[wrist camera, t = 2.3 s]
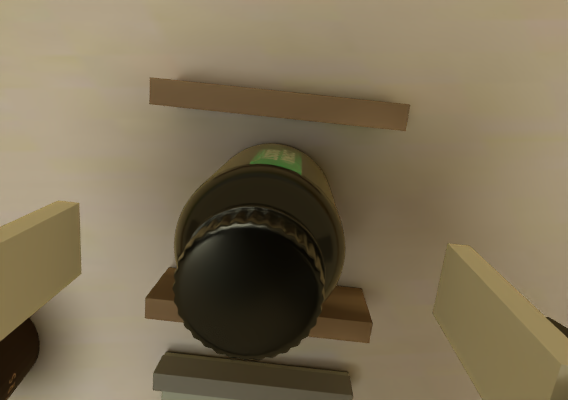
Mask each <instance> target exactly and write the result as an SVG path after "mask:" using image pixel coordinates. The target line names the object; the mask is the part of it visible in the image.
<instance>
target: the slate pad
mask: <svg viewBox="0 0 568 400" xmlns="http://www.w3.org/2000/svg"><path fill="white" fill-rule="evenodd" d="M153 390H155V391H162V398H161V400H352V399H353V392H352V387H351V381H350V376H349V375H348V372H340V371H331V370H322V369H313V368H304V367H295V366H286V365H277V364H268V363H259V362H250V361H241V360H232V359H223V358H214V357H206V356H197V355H188V354H179V353H170V352H166V353H165V355H163V356H162V358H161V360H160V361H159V363H158V365H157V367H156V369H155V371H154V373H153Z"/></svg>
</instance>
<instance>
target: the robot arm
mask: <svg viewBox="0 0 568 400" xmlns="http://www.w3.org/2000/svg"><path fill="white" fill-rule="evenodd" d="M80 274H81V246H80V213H79V203H75V202H66V201H56V202H54V203H52V204H50V205H47V206H45V207H43V208H41V209H39V210H36V211H34V212H32V213H30V214H28V215H25V216H23V217H21V218H19V219H17V220H15V221H12V222H10V223H8V224H6V225H4V226H1V227H0V341H1V340H2V339H4V338H5V337H6V336H7V335H8V334H10V333H11V332H12V331H13V330H14V329H16V328H17V327H18V326H19V325H20V324H22V323H23V322H24V321H25V320H26V319H28V318H29V317H30V316H31V315H32V314H34V313H35V312H36V311H37V310H38V309H40V308H41V307H42V306H43V305H44V304H46V303H47V302H48V301H49V300H50V299H52V298H53V297H54V296H55V295H56V294H58V293H59V292H60V291H61V290H62V289H64V288H65V287H66V286H67V285H68V284H70V283H71V282H72V281H73V280H74V279H76V278H77V277H78V276H79V275H80ZM433 315H434V317H435V318H436V320H437V322H438V323H439V325H440V327H441V329H442V330H443V332H444V334H445V336H446V337H447V339H448V341H449V342H450V344H451V346H452V348H453V349H454V351H455V353H456V355H457V356H458V358H459V360H460V361H461V363H462V365H463V367H464V368H465V370H466V372H467V374H468V375H469V377H470V379H471V381H472V382H473V384H474V386H475V387H476V389H477V391H478V393H479V394H480V396H481V398H482V400H568V328H566V327H564V326H563V325H561V324H559V323H558V322H556V321H554V320H553V319H551V318H549V317H545V316H544V315H543V314H542V313H541V312H539V311H538V310H537V309H536V308H535V307H534V306H533V305H532V304H531V303H530V302H529V301H528V300H527V299H526V298H525V297H524V296H522V295H521V294H520V293H519V292H518V291H517V290H516V289H515V288H514V287H513V286H512V285H511V284H510V283H509V282H508V281H506V280H505V279H504V278H503V277H502V276H501V275H500V274H499V273H498V272H497V271H496V270H495V269H494V268H493V267H492V266H491V265H489V264H488V263H487V262H486V261H485V260H484V259H483V258H482V257H481V256H480V255H479V254H478V253H477V252H476V251H475V250H474V249H472V248H471V247H470V246H467V245H458V244H449V243H448V245H447V249H446V254H445V258H444V263H443V268H442V272H441V277H440V281H439V286H438V291H437V295H436V300H435V304H434V309H433Z"/></svg>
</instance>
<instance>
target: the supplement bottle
mask: <svg viewBox="0 0 568 400" xmlns="http://www.w3.org/2000/svg"><path fill="white" fill-rule="evenodd" d="M174 253H175V260H176V264H177V269H176V270H175V272H174V279H175V282H174V284H173V287H172V289H173V292H174V294H175V297H174V303H175V305H176V306H177V308H178V315H179V317H180V318H181V319H182V320H183V322H184V326H185V327H186V328H187V329H188V330H190V331H191V333H192V335H193V337H194V338H196V339H198V340H200V341H201V342H202V344H203V345H204V346H205V347H208V348H212V349H213V350H214V351H215V352H216V353H218V354H225V355H227V356H228V357H230V358H240V359H243V360H249V359H255V360H261V359H263V358H265V357H269V358H273V357H275V356H276V355H278V354H280V353H286V352H288V351H289V349H290V348H292V347H295V346H298V345H299V344H300V342H301V340H302V339H304V338H306V337H308V336H309V333H310V330H311V329H312V328H313V327H314V326H316V324H317V317H318V316H319V315H320V314H321V312H322V304H323V303H324V302H325V301H326V300H327V298H328V297H329V296H330V294H331V293H332V291H333V290H334V288H335V286H336V284H337V282H338V280H339V278H340V275H341V273H342V269H343V265H344V259H345V239H344V232H343V227H342V224H341V220H340V217H339V214H338V211H337V208H336V205H335V202H334V199H333V196H332V193H331V189H330V187H329V184H328V182H327V179H326V177H325V175H324V173H323V172H322V170H321V169H320V167H319V166H318V165H317V164H316V163H315V162H314V161H313V160H312V159H311V158H310V157H309V156H308V155H306V154H305V153H303V152H301V151H300V150H298V149H295V148H293V147H290V146H287V145H282V144H273V143H269V144H260V145H256V146H252V147H250V148H247V149H245V150H243V151H241V152H239V153H238V154H236V155H235V156H234V157H232V158H231V159H230V160H229V161H228V162H226V163H225V164H224V165H223V166H222V167H221V168H220V169H219V170H218V171H217V172H215V173H214V174H213V175H212V176H211V177H210V178H209V179H208V180H207V181H206V182H204V183H203V184H202V185H201V186H200V187H199V188H198V189H197V190H196V191H195V193H194V194H193V195H192V196H191V198H190V199H189V200H188V202H187V204H186V205H185V207H184V208H183V210H182V212H181V215H180V217H179V220H178V223H177V227H176V231H175V238H174Z"/></svg>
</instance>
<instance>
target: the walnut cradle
mask: <svg viewBox="0 0 568 400" xmlns="http://www.w3.org/2000/svg"><path fill="white" fill-rule="evenodd" d="M149 104H154V105H163V106H173V107H182V108H192V109H201V110H211V111H220V112H230V113H239V114H249V115H258V116H268V117H277V118H287V119H296V120H306V121H315V122H325V123H334V124H344V125H353V126H363V127H372V128H382V129H391V130H401V131H406V126H407V120H408V114H409V109H410V105H409V104H400V103H390V102H380V101H371V100H361V99H352V98H342V97H333V96H323V95H313V94H304V93H294V92H285V91H275V90H265V89H256V88H246V87H237V86H227V85H218V84H208V83H198V82H189V81H179V80H170V79H160V78H151V77H150V103H149ZM176 269H177V268H168V269H167V270H166V272H165V273H164V274H163V276H162V277H161V278H160V280H159V281H158V282H157V284H156V285H155V286H154V287H153V289H152V290H151V291H150V293H149V294H148V295H147V297H146V298H145V318H147V319H156V320H165V321H174V322H183V320H182V319H181V318H180V317H179V315H178V308H177V306H176V305H175V303H174V297H175V294H174V292H173V289H172V287H173V284H174V282H175V279H174V272H175V270H176ZM183 323H184V322H183ZM372 324H373V323H372V320H371V316H370V313H369V310H368V307H367V304H366V301H365V298H364V295H363V291H362V289H361V288H352V287H342V286H335V288H334V290H333V291H332V293H331V294H330V296H329V297H328V298H327V300H326V301H325V302H324V303H323V304H322V312H321V314H320V315H319V316H318V317H317V324H316V326H314V327H313V328H312V329H311V330H310V333H309V337H318V338H327V339H336V340H345V341H354V342H363V343H369V341H370V335H371V330H372Z"/></svg>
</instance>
